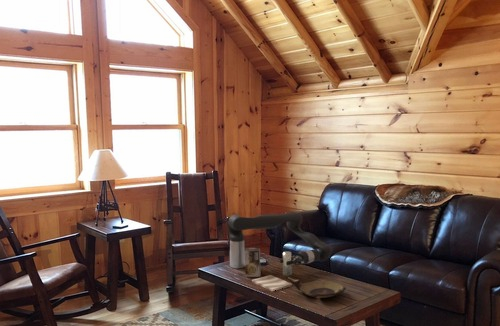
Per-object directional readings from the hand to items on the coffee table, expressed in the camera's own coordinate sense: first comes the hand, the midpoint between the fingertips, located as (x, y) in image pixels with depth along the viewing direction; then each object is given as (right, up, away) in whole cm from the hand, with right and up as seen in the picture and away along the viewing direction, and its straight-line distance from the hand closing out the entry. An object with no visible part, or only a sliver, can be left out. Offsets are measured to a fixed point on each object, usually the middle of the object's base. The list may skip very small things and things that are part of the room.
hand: (283, 262), depth 255 cm
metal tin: (+2, -7, +2) cm, 8 cm away
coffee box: (-18, -10, +7) cm, 22 cm away
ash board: (-8, -10, -9) cm, 15 cm away
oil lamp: (+16, -12, -25) cm, 32 cm away
